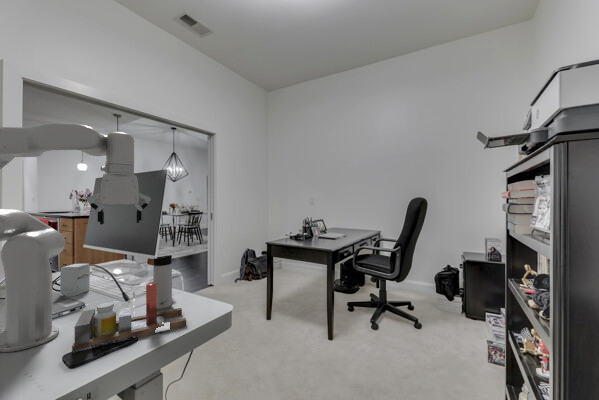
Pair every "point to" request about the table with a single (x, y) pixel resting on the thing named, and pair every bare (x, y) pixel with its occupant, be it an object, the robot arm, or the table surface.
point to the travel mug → (163, 281)
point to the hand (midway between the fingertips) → (120, 223)
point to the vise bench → (86, 328)
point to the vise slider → (151, 312)
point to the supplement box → (74, 279)
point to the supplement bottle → (104, 320)
